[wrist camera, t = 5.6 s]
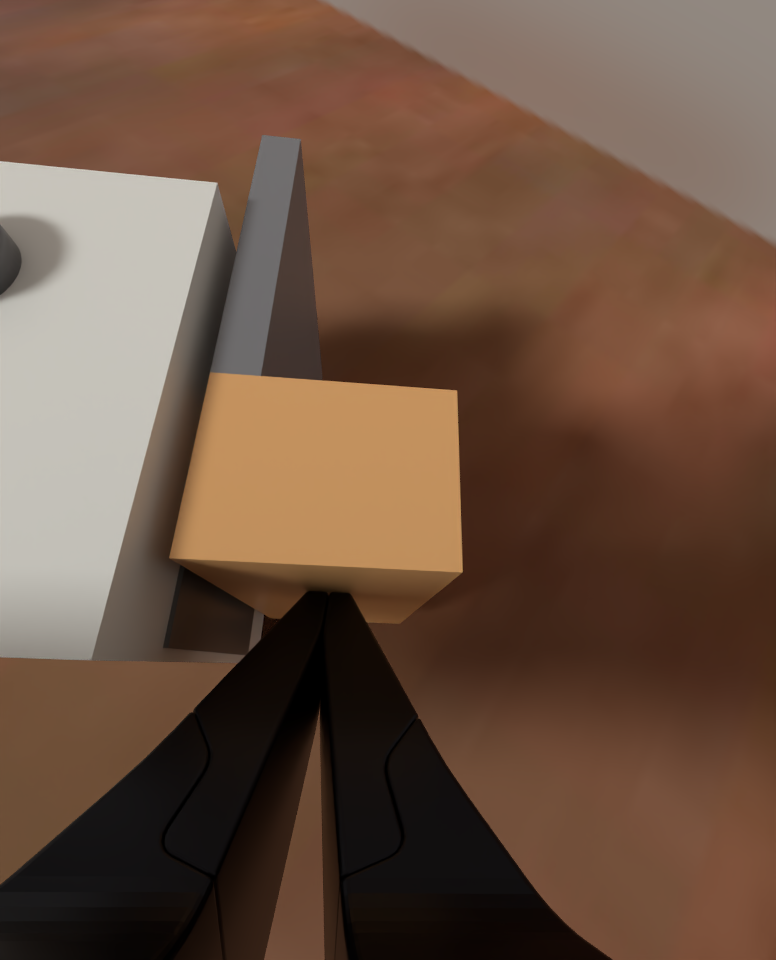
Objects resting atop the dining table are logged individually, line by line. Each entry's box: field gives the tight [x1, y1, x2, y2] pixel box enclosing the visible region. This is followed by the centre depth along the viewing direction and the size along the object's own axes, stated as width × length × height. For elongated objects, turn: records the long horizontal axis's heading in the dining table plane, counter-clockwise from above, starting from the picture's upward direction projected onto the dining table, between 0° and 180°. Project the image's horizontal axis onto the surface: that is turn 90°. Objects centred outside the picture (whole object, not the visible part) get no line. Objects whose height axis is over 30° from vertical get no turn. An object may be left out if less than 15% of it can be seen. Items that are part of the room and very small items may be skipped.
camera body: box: [0, 161, 264, 663], centre depth 11 cm, size 10×7×11 cm
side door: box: [169, 135, 463, 624], centre depth 12 cm, size 9×4×8 cm, turn 178°
